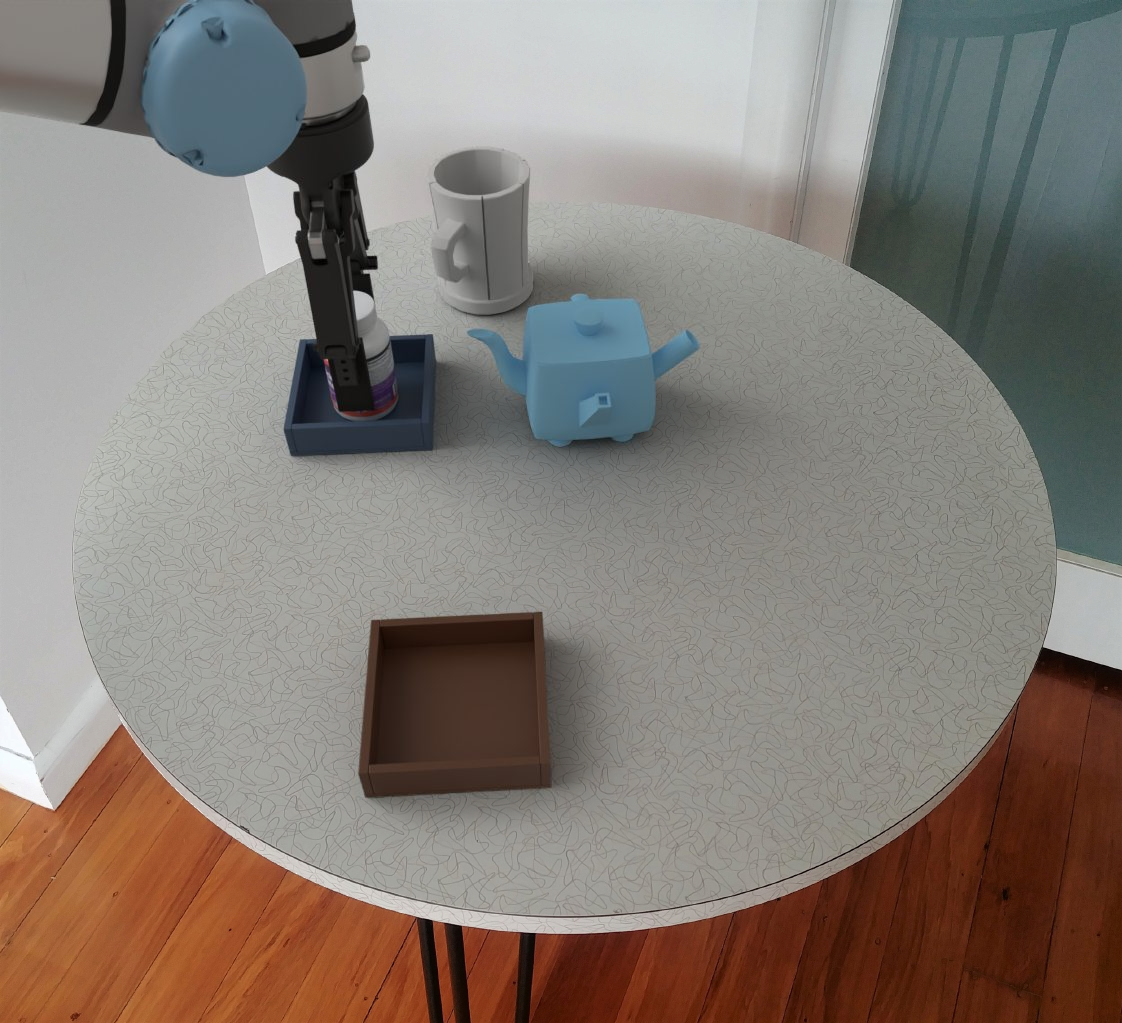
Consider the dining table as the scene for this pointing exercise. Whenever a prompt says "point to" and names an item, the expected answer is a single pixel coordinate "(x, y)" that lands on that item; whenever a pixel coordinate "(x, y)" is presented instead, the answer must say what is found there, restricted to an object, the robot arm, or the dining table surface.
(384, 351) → the pill bottle
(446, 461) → the dining table surface
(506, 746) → the near bin
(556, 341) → the teapot
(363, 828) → the dining table surface
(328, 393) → the far bin
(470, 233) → the cup
